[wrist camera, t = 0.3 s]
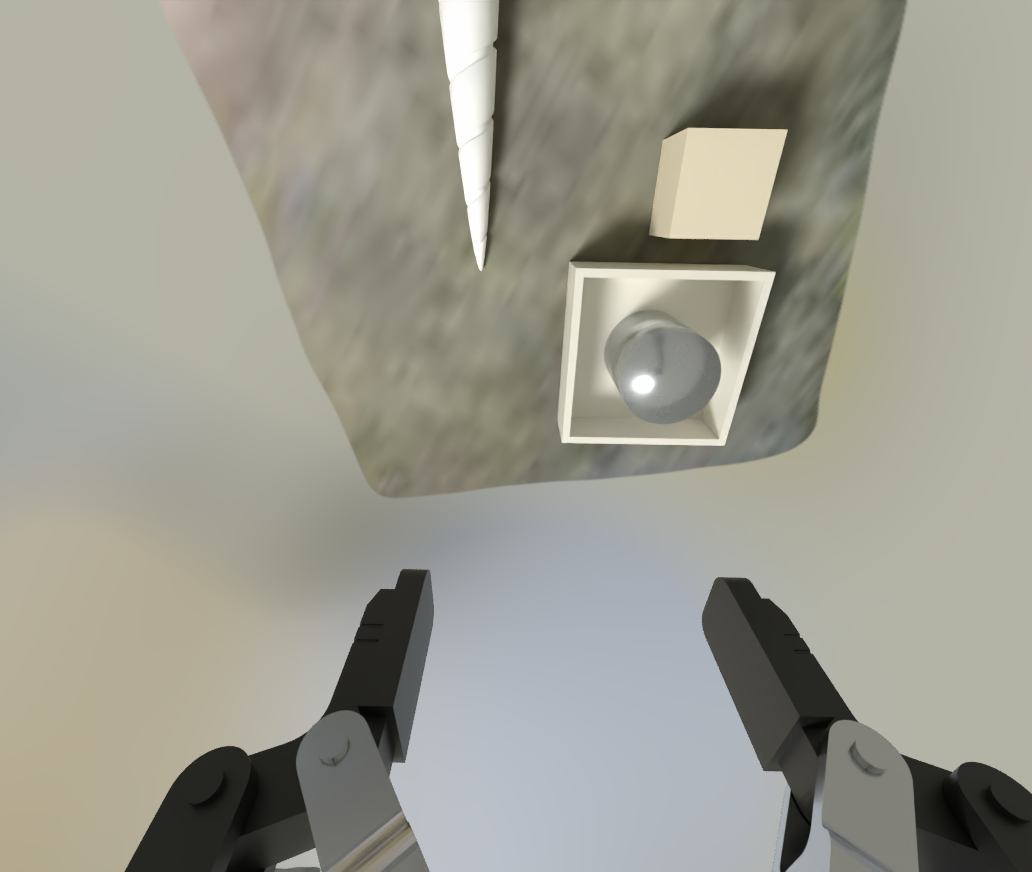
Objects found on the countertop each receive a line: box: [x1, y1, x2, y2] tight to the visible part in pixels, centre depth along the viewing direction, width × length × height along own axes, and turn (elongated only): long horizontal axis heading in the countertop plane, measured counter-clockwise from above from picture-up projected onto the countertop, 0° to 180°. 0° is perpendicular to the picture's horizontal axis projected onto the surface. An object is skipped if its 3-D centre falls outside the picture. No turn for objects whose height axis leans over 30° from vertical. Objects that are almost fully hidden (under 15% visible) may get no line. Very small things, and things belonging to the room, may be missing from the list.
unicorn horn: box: [439, 0, 499, 271], centre depth 26 cm, size 5×24×5 cm, turn 177°
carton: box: [649, 128, 788, 240], centre depth 28 cm, size 6×6×5 cm
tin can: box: [604, 310, 721, 424], centre depth 33 cm, size 7×7×7 cm
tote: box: [558, 261, 776, 446], centre depth 34 cm, size 14×14×4 cm
